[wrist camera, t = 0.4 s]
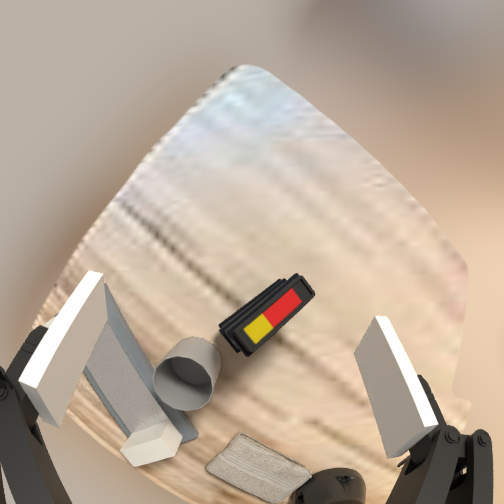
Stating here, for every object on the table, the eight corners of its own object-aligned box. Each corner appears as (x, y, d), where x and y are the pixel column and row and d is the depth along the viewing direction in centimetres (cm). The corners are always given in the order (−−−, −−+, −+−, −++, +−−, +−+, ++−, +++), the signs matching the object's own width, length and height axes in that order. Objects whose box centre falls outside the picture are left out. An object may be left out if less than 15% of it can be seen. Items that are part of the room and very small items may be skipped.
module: (182, 436, 44) (174, 455, 38) (144, 449, 44) (134, 467, 38) (169, 419, 44) (160, 437, 38) (131, 433, 44) (119, 450, 38)
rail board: (198, 433, 46) (197, 437, 44) (145, 451, 46) (142, 455, 44) (105, 283, 47) (101, 283, 45) (58, 314, 47) (54, 315, 45)
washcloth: (277, 498, 46) (278, 508, 43) (203, 463, 46) (201, 473, 43) (315, 466, 46) (318, 476, 43) (239, 428, 46) (238, 437, 43)
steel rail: (183, 434, 44) (182, 436, 44) (145, 447, 44) (144, 449, 44) (97, 297, 45) (95, 297, 44) (64, 319, 45) (61, 319, 44)
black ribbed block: (204, 334, 45) (230, 330, 31) (265, 284, 50) (310, 262, 37) (219, 352, 45) (251, 357, 31) (278, 302, 50) (328, 286, 37)
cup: (197, 392, 46) (184, 420, 36) (161, 358, 46) (141, 380, 36) (232, 362, 46) (226, 386, 36) (195, 326, 46) (180, 343, 36)
